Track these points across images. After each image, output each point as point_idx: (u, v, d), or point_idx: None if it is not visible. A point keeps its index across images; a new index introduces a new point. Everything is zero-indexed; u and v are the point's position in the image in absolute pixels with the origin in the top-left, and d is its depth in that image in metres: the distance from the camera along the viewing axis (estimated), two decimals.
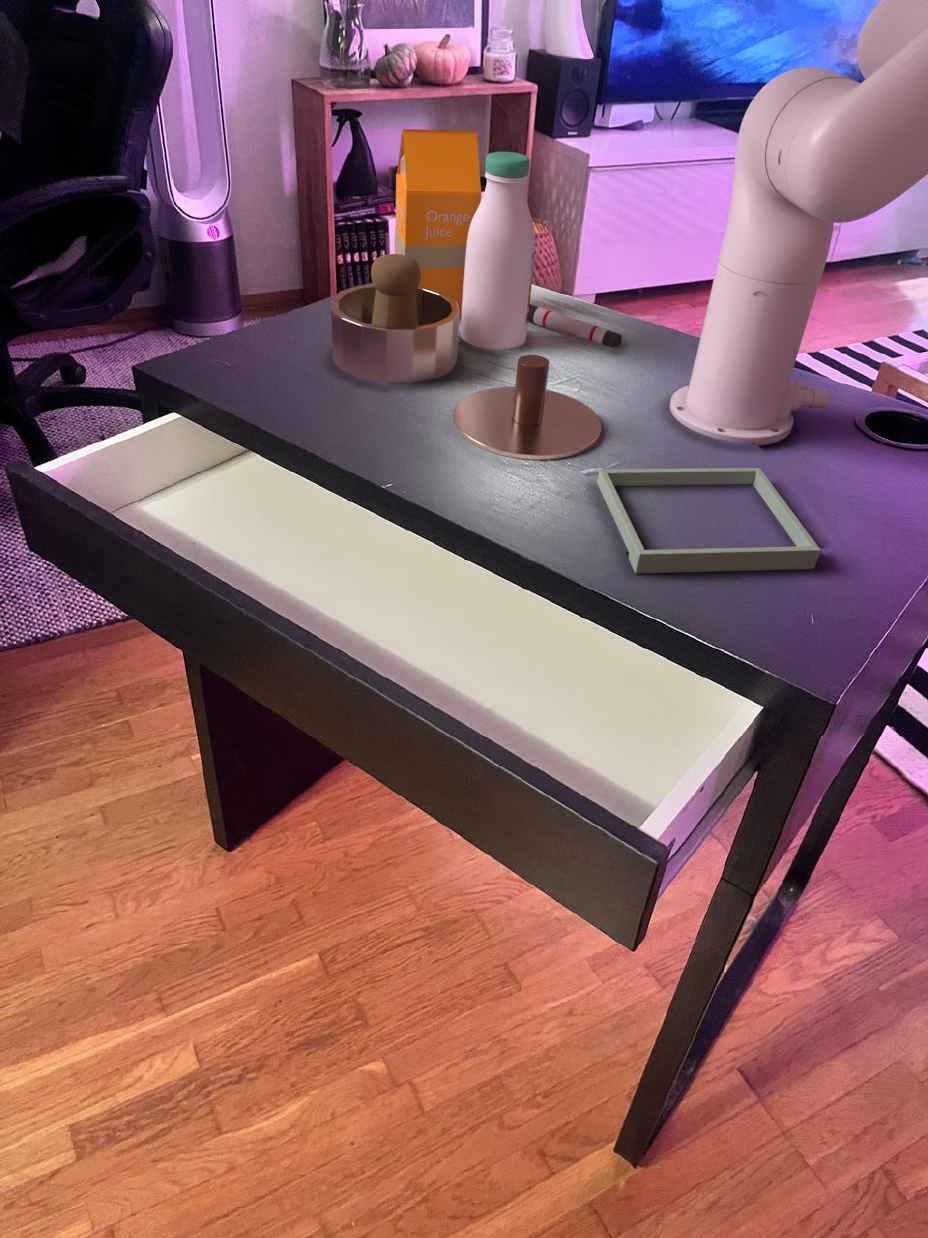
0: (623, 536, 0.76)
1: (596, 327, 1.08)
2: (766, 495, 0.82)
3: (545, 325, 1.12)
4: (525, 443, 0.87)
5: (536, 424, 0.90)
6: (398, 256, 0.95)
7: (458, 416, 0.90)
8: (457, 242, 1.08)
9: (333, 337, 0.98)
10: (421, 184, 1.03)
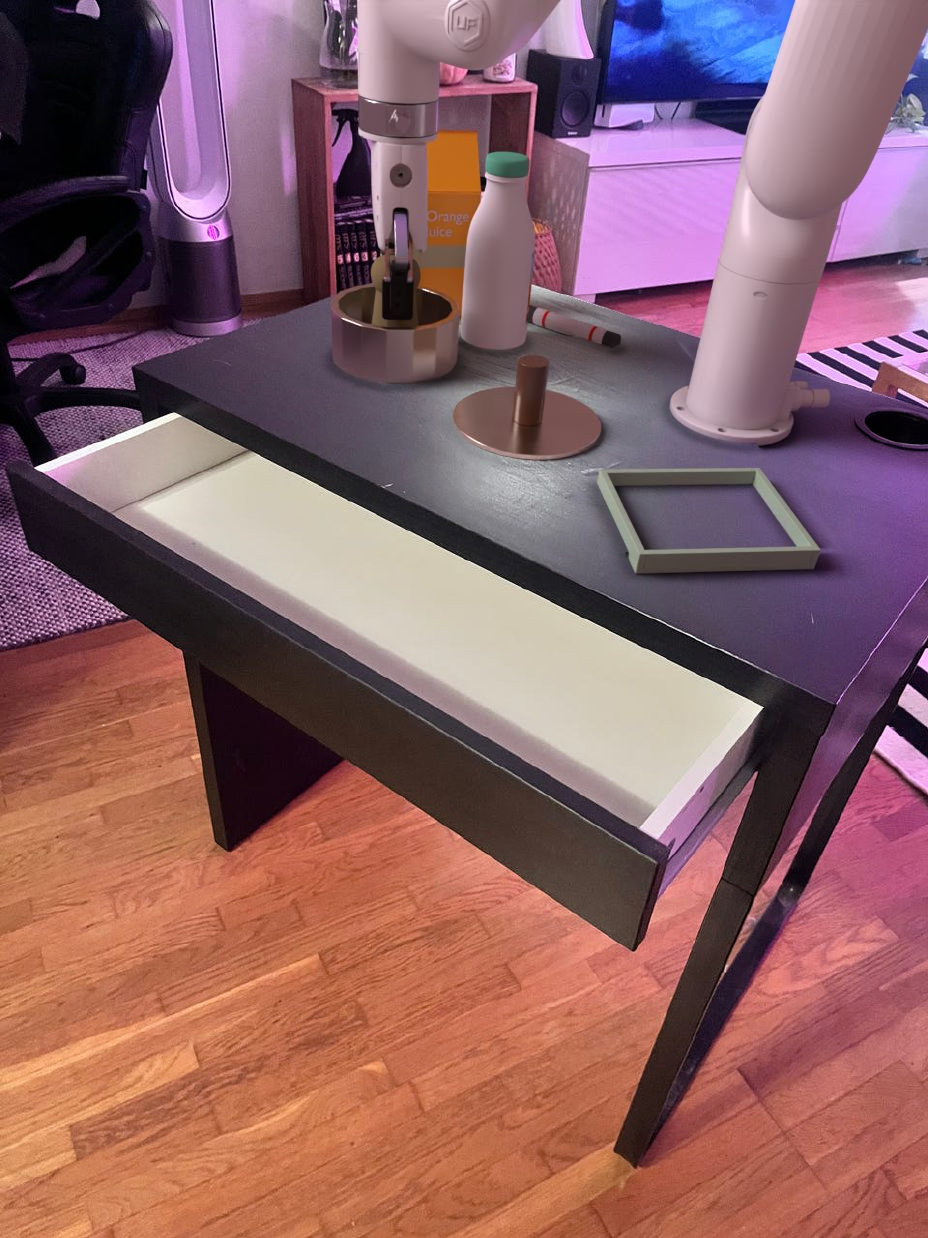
0: (623, 536, 0.76)
1: (595, 327, 1.08)
2: (766, 495, 0.82)
3: (544, 325, 1.12)
4: (525, 443, 0.87)
5: (536, 424, 0.90)
6: None
7: (458, 416, 0.90)
8: (457, 242, 1.08)
9: (333, 337, 0.98)
10: None
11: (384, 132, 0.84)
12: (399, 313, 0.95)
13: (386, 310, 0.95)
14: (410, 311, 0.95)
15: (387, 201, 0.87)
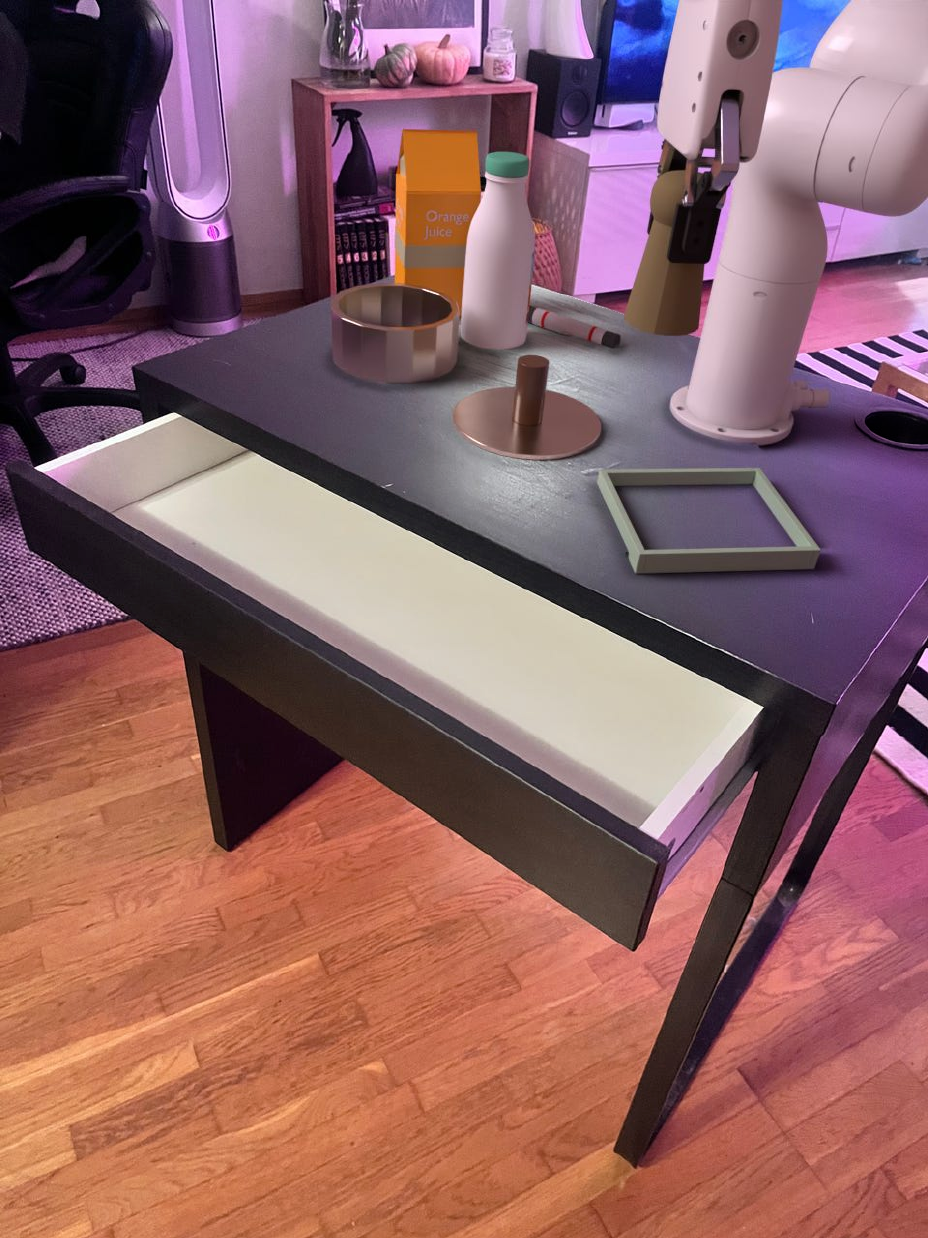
0: (623, 536, 0.76)
1: (595, 327, 1.08)
2: (766, 495, 0.82)
3: (544, 326, 1.11)
4: (525, 443, 0.87)
5: (536, 424, 0.90)
6: None
7: (458, 416, 0.90)
8: (457, 242, 1.08)
9: (333, 337, 0.98)
10: (421, 184, 1.03)
11: None
12: (695, 253, 0.67)
13: (675, 249, 0.67)
14: (708, 251, 0.67)
15: (716, 80, 0.59)
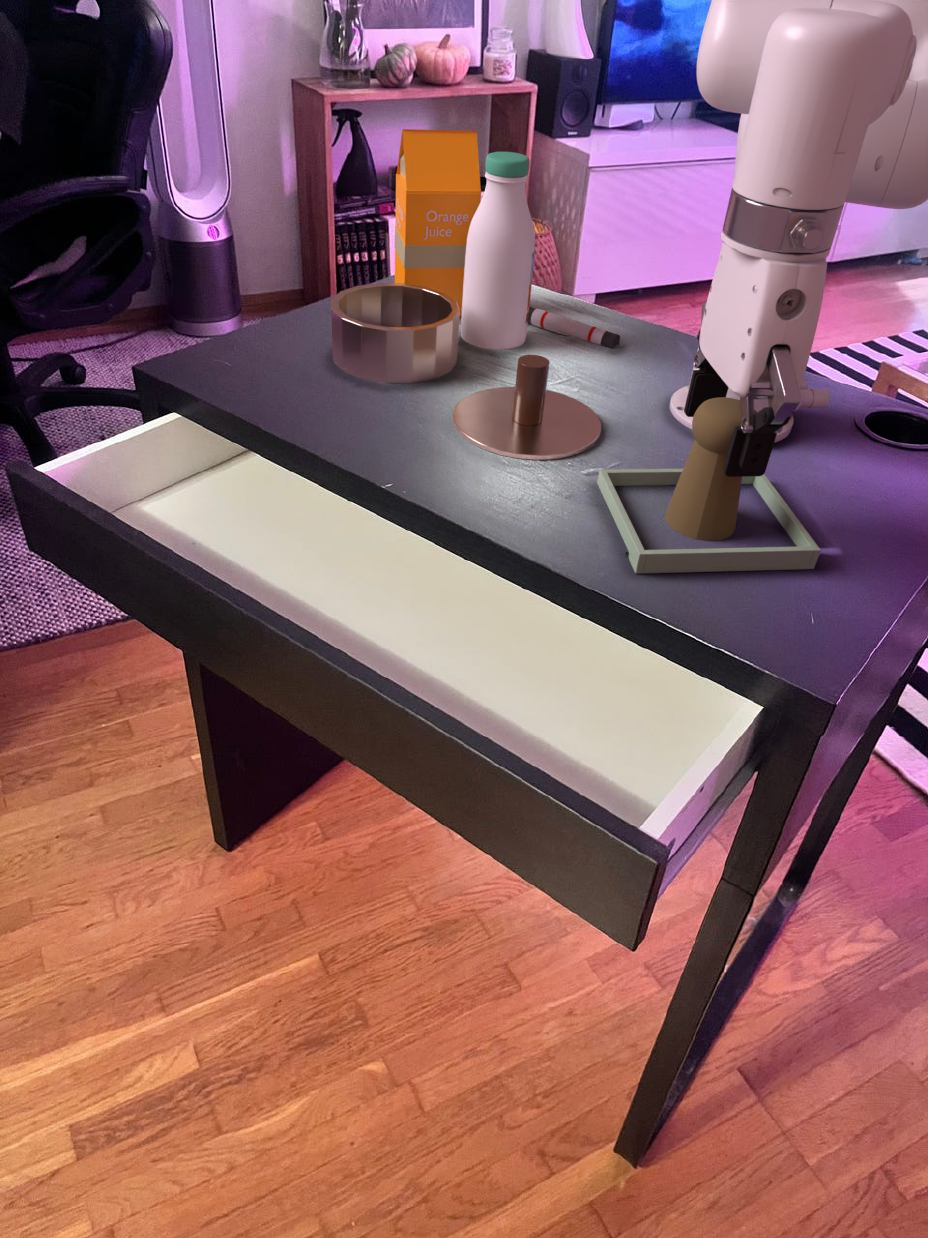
0: (623, 536, 0.76)
1: (594, 328, 1.08)
2: (766, 495, 0.82)
3: (543, 326, 1.11)
4: (525, 443, 0.87)
5: (536, 424, 0.90)
6: (732, 403, 0.72)
7: (458, 416, 0.90)
8: (457, 242, 1.08)
9: (333, 337, 0.98)
10: (421, 184, 1.03)
11: (776, 247, 0.61)
12: (752, 470, 0.69)
13: (733, 465, 0.70)
14: (763, 466, 0.70)
15: (765, 337, 0.64)
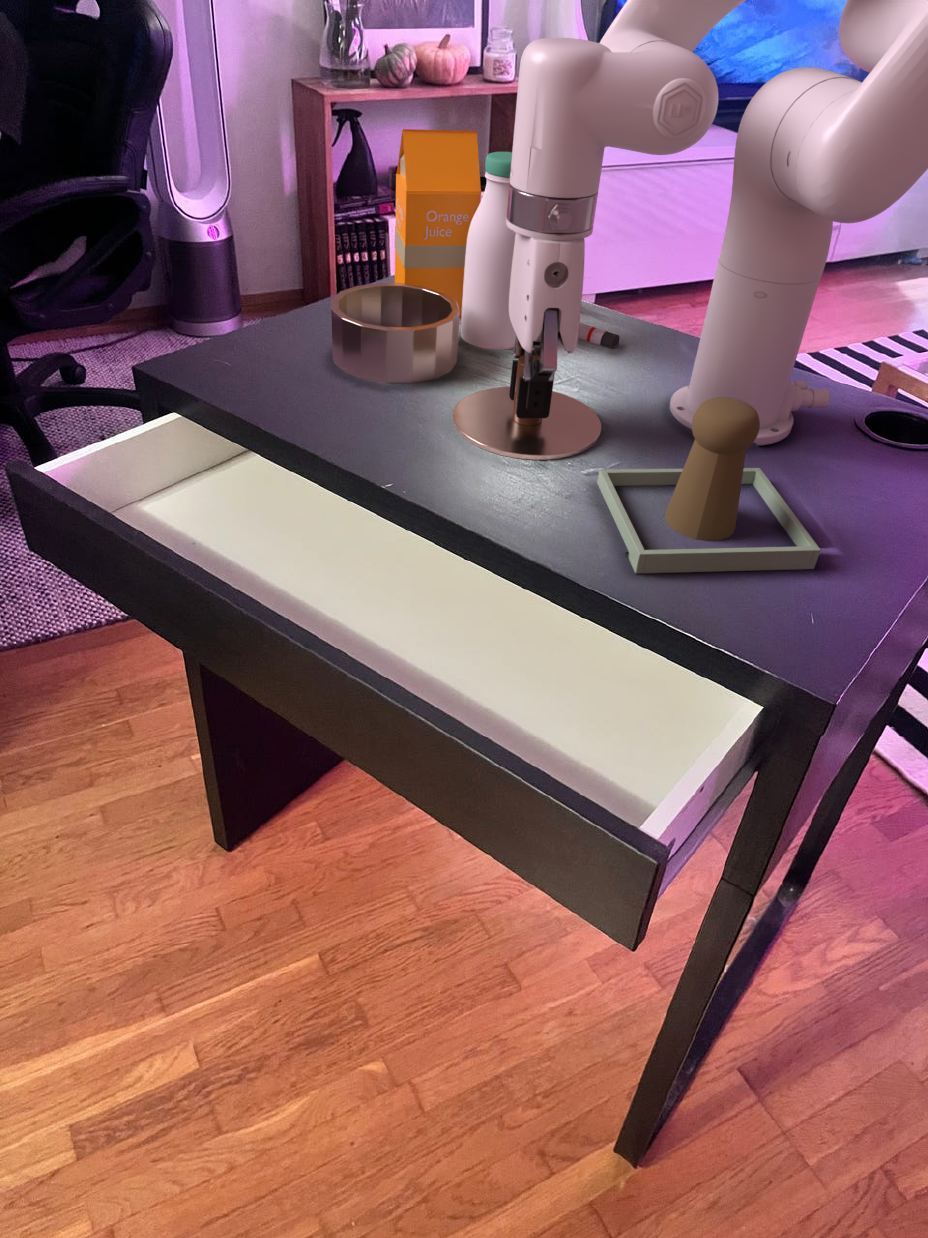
0: (623, 536, 0.76)
1: (594, 328, 1.08)
2: (766, 495, 0.82)
3: None
4: (525, 443, 0.87)
5: (536, 424, 0.90)
6: (733, 403, 0.72)
7: (458, 416, 0.90)
8: (457, 242, 1.08)
9: (333, 337, 0.98)
10: (421, 184, 1.03)
11: (540, 228, 0.76)
12: (536, 412, 0.87)
13: (521, 409, 0.87)
14: (547, 409, 0.88)
15: (539, 301, 0.78)
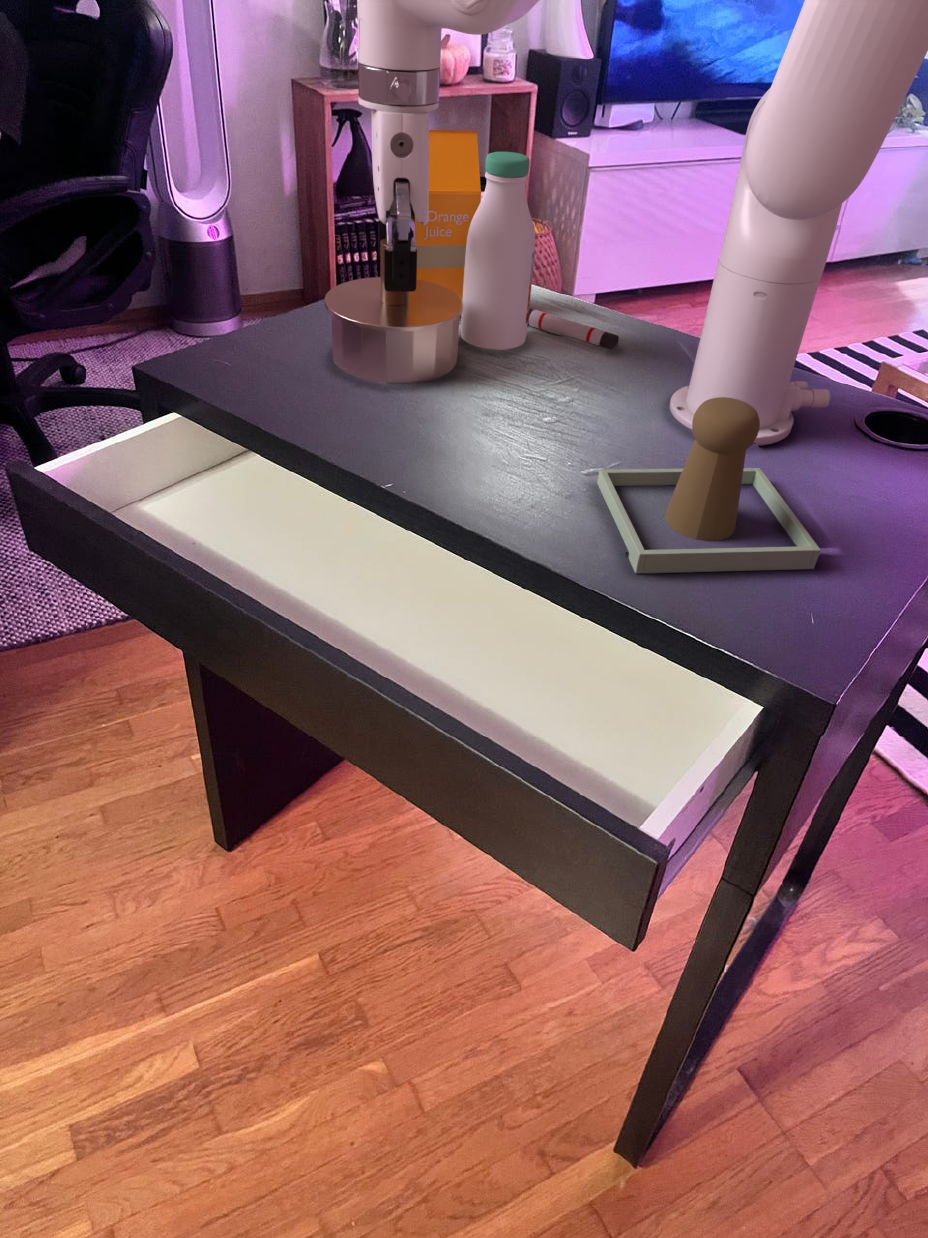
0: (623, 536, 0.76)
1: (593, 329, 1.08)
2: (766, 495, 0.82)
3: (541, 327, 1.11)
4: (387, 318, 0.94)
5: (401, 304, 0.97)
6: (733, 403, 0.72)
7: (329, 297, 0.97)
8: (457, 242, 1.08)
9: (333, 337, 0.98)
10: None
11: (384, 100, 0.83)
12: (402, 284, 0.91)
13: (388, 281, 0.91)
14: (413, 282, 0.91)
15: (388, 171, 0.85)
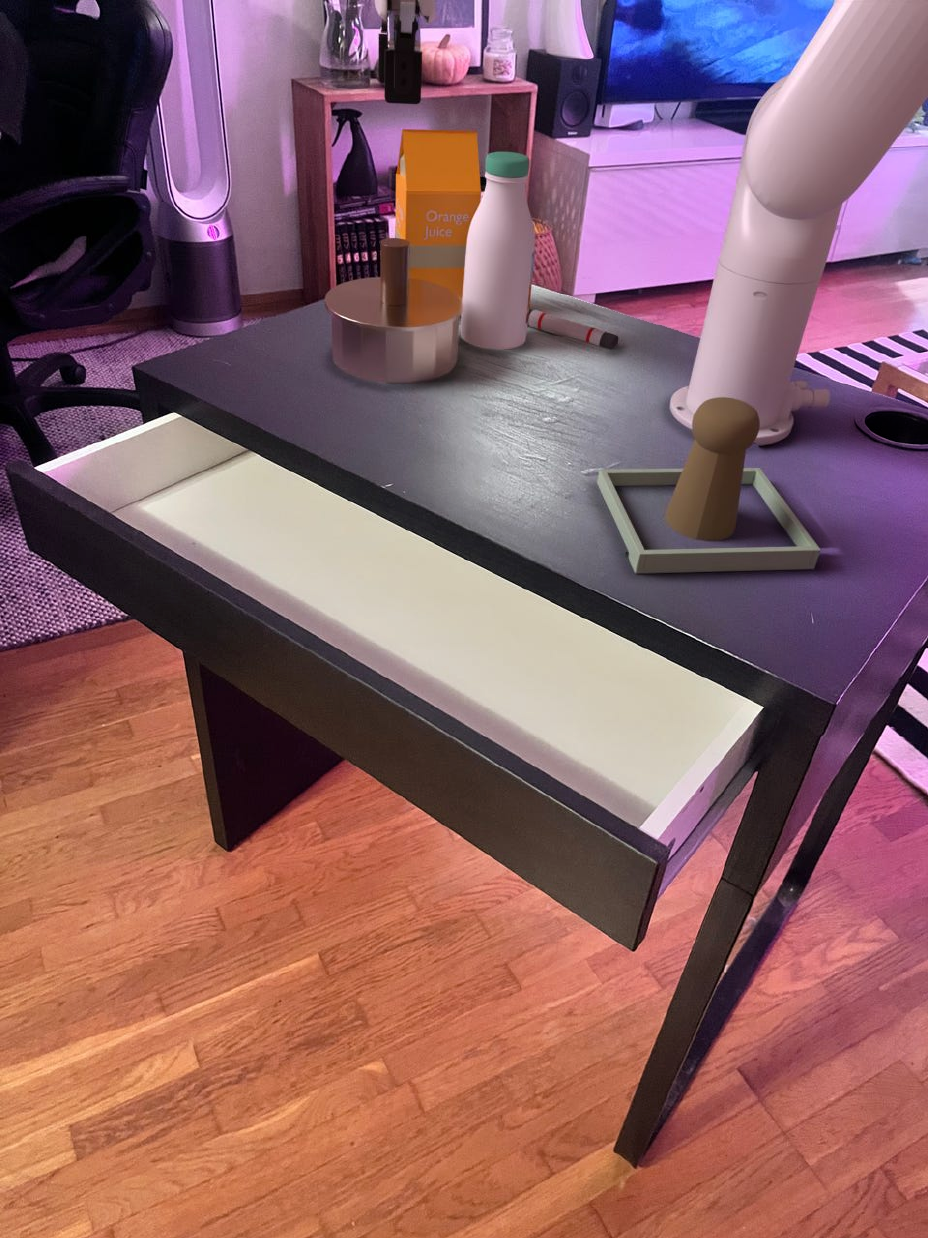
0: (623, 536, 0.76)
1: (593, 329, 1.08)
2: (766, 495, 0.82)
3: (540, 328, 1.11)
4: (387, 318, 0.94)
5: (401, 304, 0.97)
6: (733, 403, 0.72)
7: (329, 297, 0.97)
8: (457, 242, 1.08)
9: (333, 337, 0.98)
10: (421, 184, 1.03)
11: None
12: (405, 93, 0.80)
13: (389, 90, 0.81)
14: (418, 92, 0.81)
15: None
